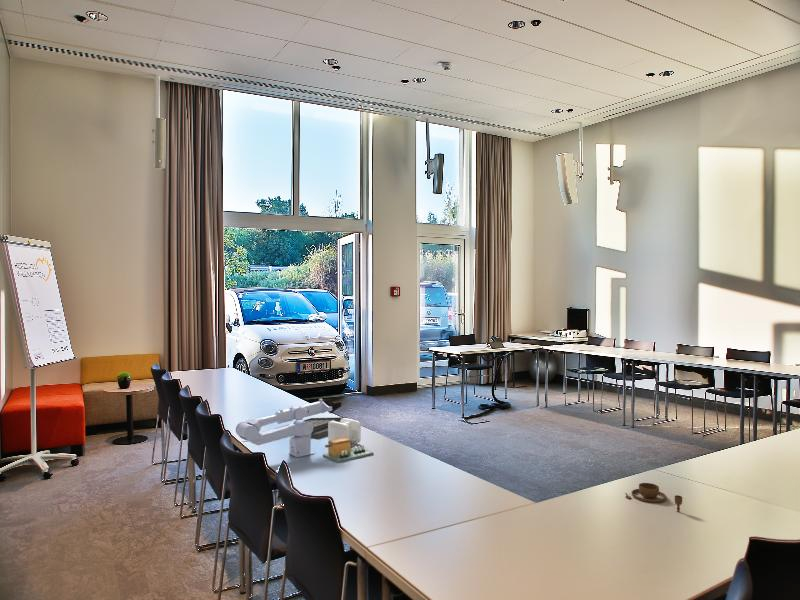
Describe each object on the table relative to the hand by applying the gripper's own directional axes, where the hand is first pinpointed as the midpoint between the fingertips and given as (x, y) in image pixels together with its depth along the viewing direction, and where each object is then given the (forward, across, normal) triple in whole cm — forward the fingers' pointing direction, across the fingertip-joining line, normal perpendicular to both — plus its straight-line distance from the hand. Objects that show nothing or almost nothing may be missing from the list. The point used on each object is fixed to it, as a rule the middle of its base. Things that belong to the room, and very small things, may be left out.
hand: (336, 403), depth 279 cm
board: (-6, -16, +21) cm, 27 cm away
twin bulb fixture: (-11, -20, +21) cm, 31 cm away
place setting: (+47, -135, +27) cm, 145 cm away
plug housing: (-10, -13, +20) cm, 26 cm away
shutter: (+9, +39, +23) cm, 46 cm away
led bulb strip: (-1, -18, +22) cm, 28 cm away
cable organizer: (+4, +2, +22) cm, 23 cm away
